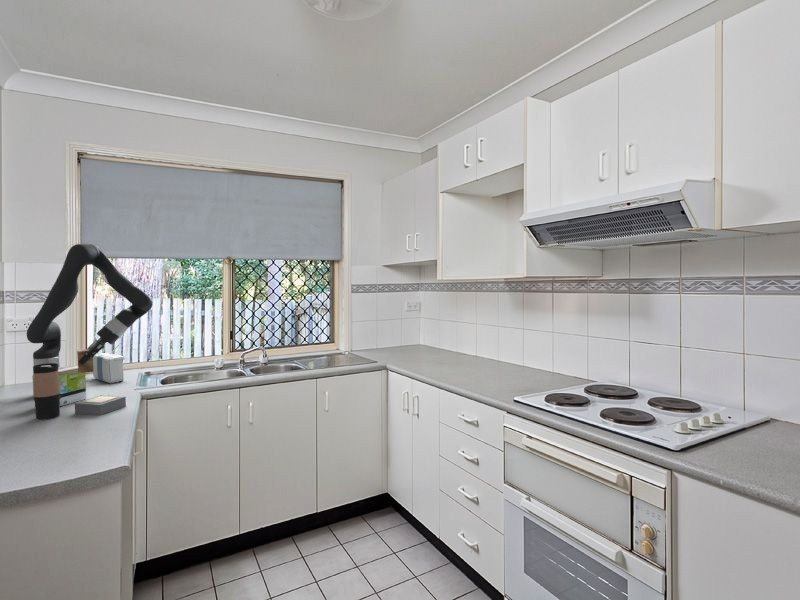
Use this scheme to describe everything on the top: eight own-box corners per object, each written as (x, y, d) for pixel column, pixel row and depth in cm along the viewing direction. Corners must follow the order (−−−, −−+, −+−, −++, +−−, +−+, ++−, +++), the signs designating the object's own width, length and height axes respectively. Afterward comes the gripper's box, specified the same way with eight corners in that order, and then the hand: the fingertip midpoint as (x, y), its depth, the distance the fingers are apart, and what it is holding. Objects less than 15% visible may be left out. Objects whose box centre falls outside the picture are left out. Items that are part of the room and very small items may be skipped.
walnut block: (78, 373, 183) (77, 351, 182) (78, 371, 187) (77, 350, 186) (93, 371, 186) (92, 350, 185) (92, 369, 190) (91, 348, 189)
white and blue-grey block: (92, 379, 235) (90, 341, 234) (109, 376, 242) (108, 339, 241) (108, 384, 223) (106, 344, 222) (126, 381, 229) (124, 342, 228)
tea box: (54, 409, 182) (52, 372, 181) (34, 407, 184) (32, 372, 183) (87, 399, 196) (85, 365, 196) (68, 398, 198) (66, 365, 198)
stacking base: (75, 413, 175) (74, 402, 175) (101, 404, 187) (100, 394, 187) (100, 415, 173) (100, 404, 173) (125, 406, 184) (125, 396, 184)
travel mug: (39, 415, 173) (37, 364, 172) (63, 413, 176) (61, 362, 175) (31, 421, 166) (29, 367, 165) (56, 418, 169) (54, 366, 168)
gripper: (103, 323, 195) (70, 354, 189) (106, 326, 184) (72, 359, 177) (118, 334, 199) (86, 365, 192) (122, 338, 188) (89, 370, 181)
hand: (80, 362), depth 185 cm, fingers closed on walnut block, 5 cm apart
